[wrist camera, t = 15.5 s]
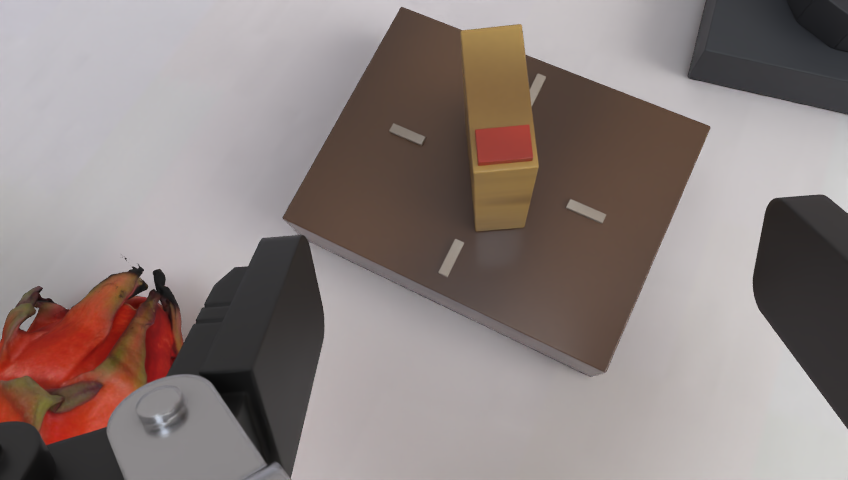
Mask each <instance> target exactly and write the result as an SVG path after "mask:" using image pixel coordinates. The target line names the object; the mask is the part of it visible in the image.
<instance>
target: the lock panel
mask: <svg viewBox="0 0 848 480" xmlns="http://www.w3.org/2000/svg"><path fill="white" fill-rule="evenodd" d="M461 31H462V30H460V29H458V28H455V27H452V26H450V25H447V24H445V23H442V22H440V21H437V20H434V19H432V18H429V17H427V16H424V15H421V14H419V13H416V12H414V11H411V10H409V9H406V8H403V7H401V8H400V10H399V12H398V13H397V15H396V17H395V19H394V20H393V22H392V24H391V26H390V28H389V29H388V31H387V33H386V35H385V36H384V38H383V40H382V42H381V44H380V45H379V47H378V49H377V51H376V52H375V54H374V56H373V58H372V60H371V61H370V63H369V65H368V67H367V68H366V70H365V72H364V74H363V76H362V77H361V79H360V81H359V83H358V84H357V86H356V88H355V90H354V92H353V93H352V95H351V97H350V99H349V100H348V102H347V104H346V106H345V108H344V109H343V111H342V113H341V115H340V116H339V118H338V120H337V122H336V124H335V125H334V127H333V129H332V131H331V132H330V134H329V136H328V138H327V140H326V141H325V143H324V145H323V147H322V148H321V150H320V152H319V154H318V156H317V157H316V159H315V161H314V163H313V164H312V166H311V168H310V170H309V172H308V173H307V175H306V177H305V179H304V180H303V182H302V184H301V186H300V187H299V189H298V191H297V193H296V195H295V196H294V198H293V200H292V202H291V203H290V205H289V207H288V209H287V211H286V212H285V214H284V216H283V219H284V220H285V221H286V222H287V223H288V224H289V225H290V226H291V227H292V228H293V229H294V230H295V231H296V232H297V233H298V234H299V235H304V236H305V237H306V238H307V240H308V241H310V242H312V243H314V244H316V245H318V246H320V247H322V248H324V249H326V250H328V251H330V252H332V253H335V254H337V255H339V256H341V257H343V258H345V259H347V260H349V261H351V262H353V263H355V264H357V265H359V266H362V267H364V268H366V269H368V270H370V271H372V272H374V273H376V274H378V275H380V276H382V277H384V278H386V279H388V280H391V281H393V282H395V283H397V284H399V285H401V286H403V287H405V288H407V289H409V290H411V291H413V292H415V293H418V294H420V295H422V296H424V297H426V298H428V299H430V300H432V301H434V302H436V303H438V304H440V305H442V306H445V307H447V308H449V309H451V310H453V311H455V312H457V313H459V314H461V315H463V316H465V317H467V318H469V319H472V320H474V321H476V322H478V323H480V324H482V325H484V326H486V327H488V328H490V329H492V330H494V331H496V332H498V333H501V334H503V335H505V336H507V337H509V338H511V339H513V340H515V341H517V342H519V343H521V344H523V345H525V346H528V347H530V348H532V349H534V350H536V351H538V352H540V353H542V354H544V355H546V356H548V357H550V358H552V359H555V360H557V361H559V362H561V363H563V364H565V365H567V366H569V367H571V368H573V369H575V370H577V371H579V372H581V373H584V374H586V375H588V376H590V377H592V376H595V375H599V374H602V373H605V372H606V371H607V369H608V367H609V364H610V362H611V359H612V357H613V355H614V352H615V350H616V348H617V345H618V343H619V341H620V338H621V336H622V334H623V331H624V329H625V327H626V324H627V322H628V320H629V317H630V315H631V313H632V310H633V308H634V306H635V303H636V301H637V299H638V296H639V294H640V292H641V289H642V287H643V285H644V282H645V280H646V278H647V275H648V273H649V271H650V268H651V266H652V264H653V261H654V259H655V257H656V254H657V252H658V249H659V247H660V245H661V242H662V240H663V238H664V235H665V233H666V231H667V228H668V226H669V224H670V221H671V219H672V217H673V214H674V212H675V210H676V207H677V205H678V203H679V200H680V198H681V196H682V193H683V191H684V189H685V186H686V184H687V182H688V179H689V177H690V175H691V172H692V170H693V168H694V165H695V163H696V161H697V158H698V156H699V154H700V151H701V149H702V147H703V144H704V142H705V139H706V137H707V135H708V132H709V130H710V126H708V125H705V124H703V123H700V122H697V121H695V120H692V119H690V118H687V117H685V116H682V115H679V114H677V113H674V112H672V111H669V110H666V109H664V108H661V107H659V106H656V105H654V104H651V103H648V102H646V101H643V100H641V99H638V98H636V97H633V96H630V95H628V94H625V93H623V92H620V91H617V90H615V89H612V88H610V87H607V86H605V85H602V84H599V83H597V82H594V81H592V80H589V79H587V78H584V77H581V76H579V75H576V74H574V73H571V72H568V71H566V70H563V69H561V68H558V67H556V66H553V65H550V64H548V63H545V62H543V61H540V60H538V59H535V58H532V57H530V56H527V55H525V56H526V64H527V73H528V81H529V89H530V98H531V106H532V114H533V123H534V131H535V139H536V147H537V156H538V164H539V168H538V172H537V176H536V180H535V184H534V189H533V193H532V197H531V201H530V205H529V210H528V214H527V218H526V222H525V226H524V227H523V228H512V229H500V230H489V231H477V232H476V231H475V224H474V213H473V202H472V190H471V179H470V168H469V157H468V146H467V135H466V124H465V108H464V90H463V72H462V54H461V36H460V32H461Z"/></svg>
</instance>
